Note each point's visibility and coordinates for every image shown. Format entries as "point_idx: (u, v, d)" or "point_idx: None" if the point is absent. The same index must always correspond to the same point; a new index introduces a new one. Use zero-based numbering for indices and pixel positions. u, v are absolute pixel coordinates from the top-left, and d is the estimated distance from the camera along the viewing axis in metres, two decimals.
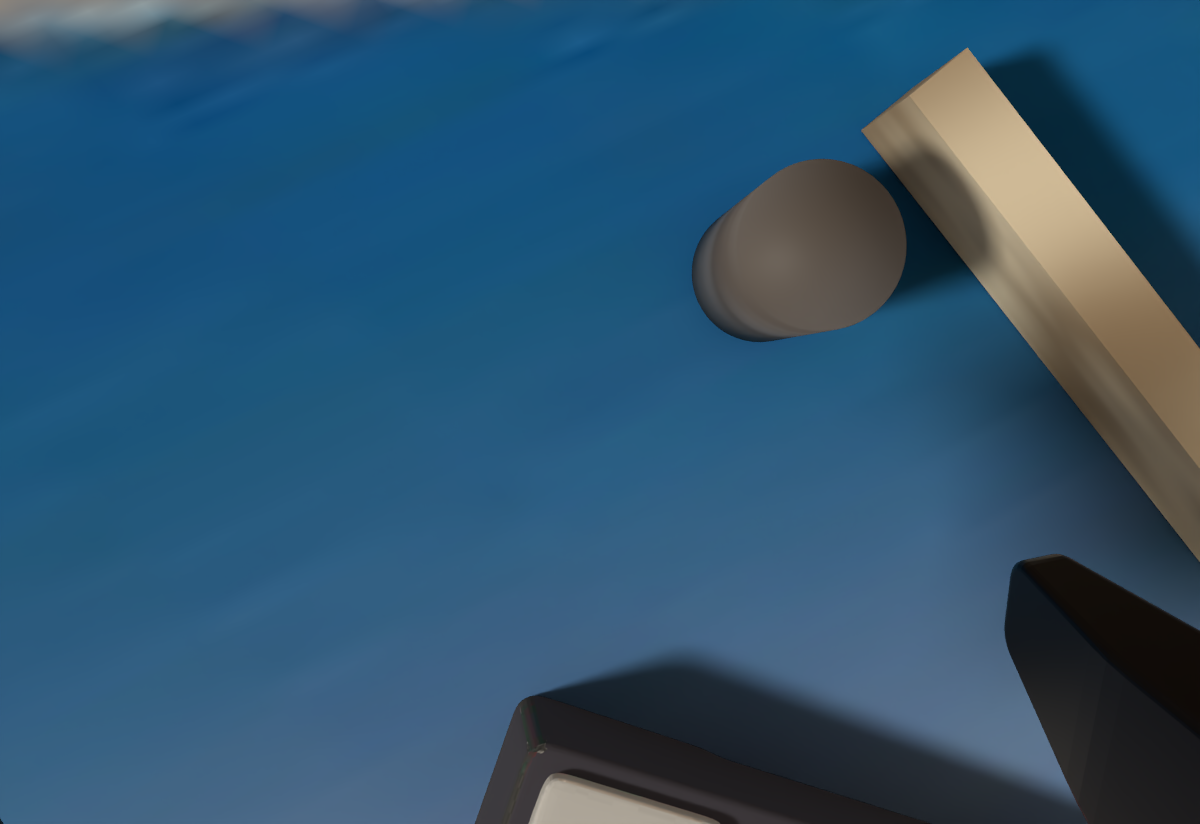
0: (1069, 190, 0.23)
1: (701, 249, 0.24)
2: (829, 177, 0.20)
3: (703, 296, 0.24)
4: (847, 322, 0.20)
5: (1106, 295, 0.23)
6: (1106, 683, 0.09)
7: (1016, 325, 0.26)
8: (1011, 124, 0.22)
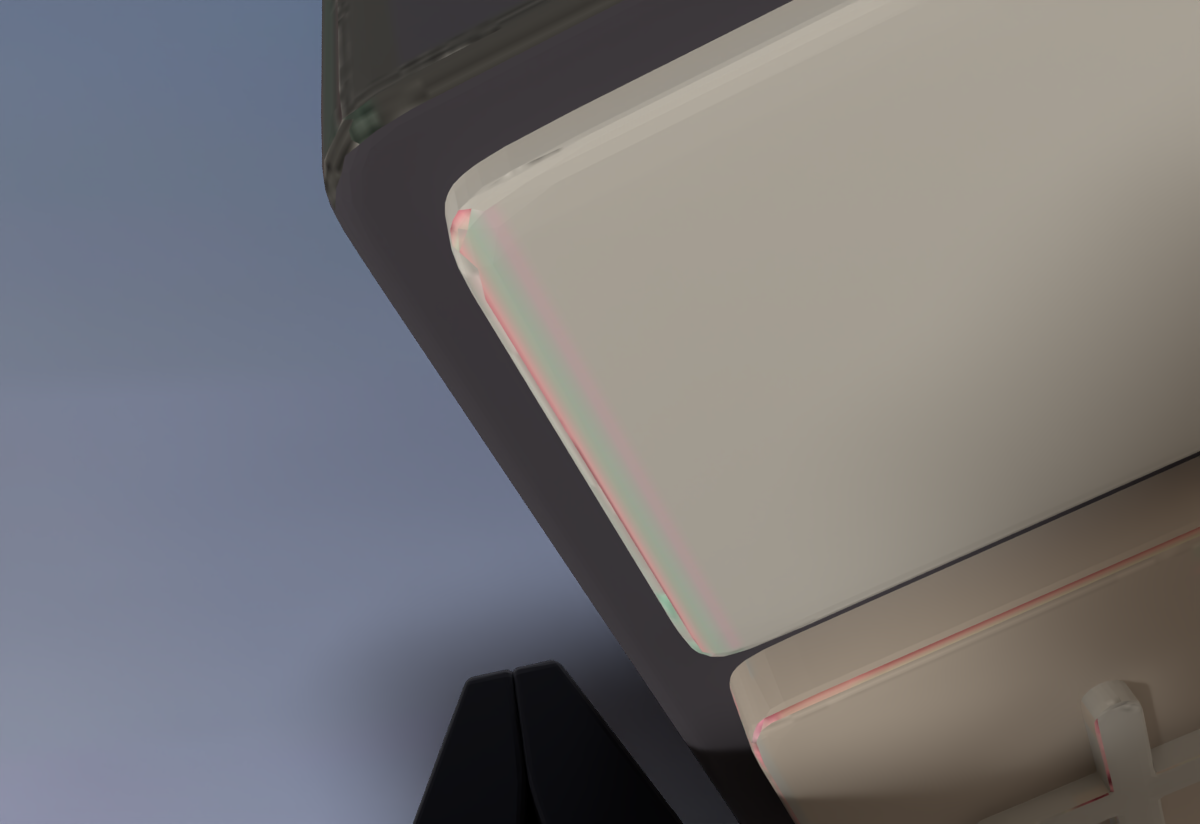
0: None
1: None
2: None
3: None
4: None
5: None
6: (532, 810, 0.08)
7: None
8: None
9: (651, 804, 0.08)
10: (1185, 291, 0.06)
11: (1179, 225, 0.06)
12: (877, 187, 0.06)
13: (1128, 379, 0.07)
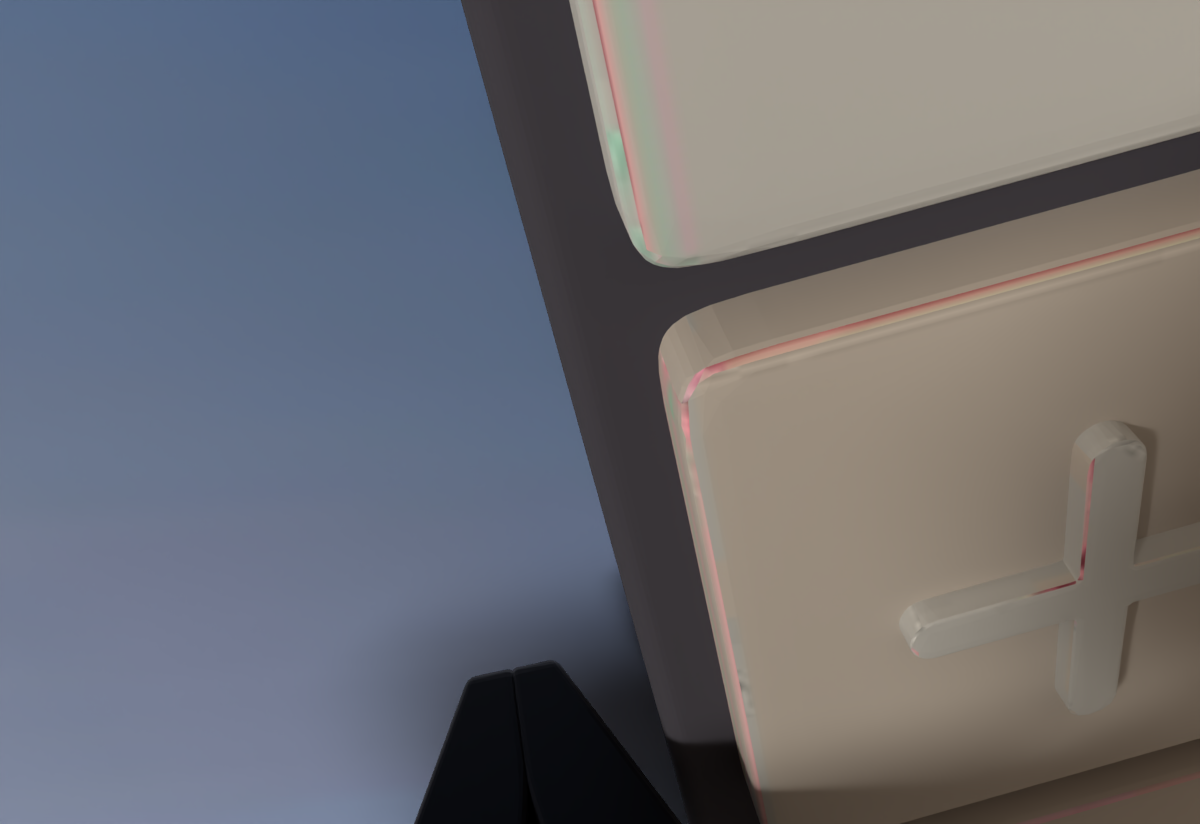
0: None
1: None
2: None
3: None
4: None
5: None
6: None
7: None
8: None
9: (649, 805, 0.08)
10: None
11: None
12: None
13: None
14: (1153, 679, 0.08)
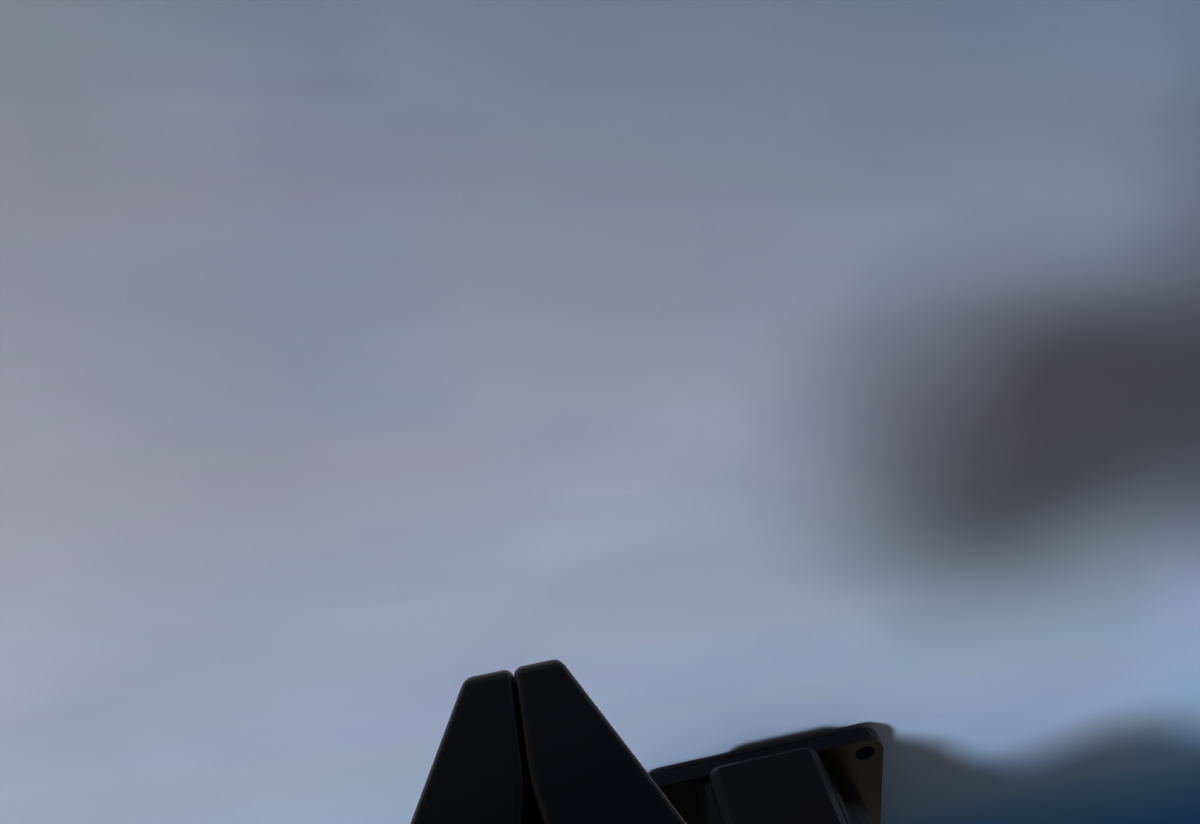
0: None
1: None
2: None
3: None
4: None
5: None
6: (535, 810, 0.08)
7: None
8: None
9: (654, 803, 0.08)
10: None
11: None
12: None
13: None
14: None
